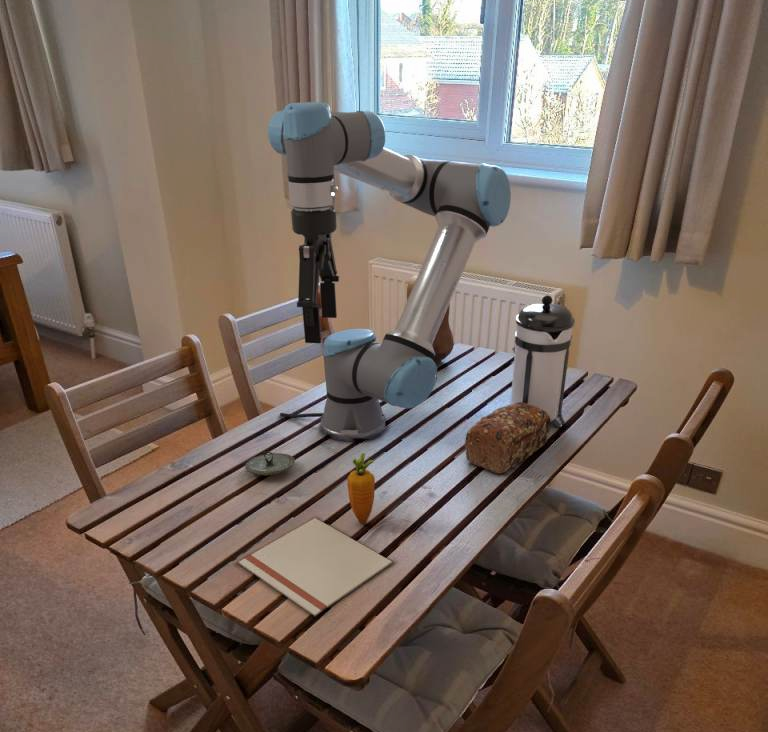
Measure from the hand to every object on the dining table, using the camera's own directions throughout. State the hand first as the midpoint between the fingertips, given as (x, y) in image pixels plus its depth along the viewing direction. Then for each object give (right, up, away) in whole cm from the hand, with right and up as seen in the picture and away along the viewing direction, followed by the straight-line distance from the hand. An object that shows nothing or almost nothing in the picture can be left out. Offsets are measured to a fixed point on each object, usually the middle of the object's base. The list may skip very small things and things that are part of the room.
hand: (321, 329), depth 127 cm
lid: (-13, -26, +21) cm, 36 cm away
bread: (+39, -22, +25) cm, 51 cm away
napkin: (-1, -42, -6) cm, 43 cm away
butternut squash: (+24, +6, +71) cm, 75 cm away
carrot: (+7, -36, +4) cm, 37 cm away
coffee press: (+47, -13, +40) cm, 63 cm away
